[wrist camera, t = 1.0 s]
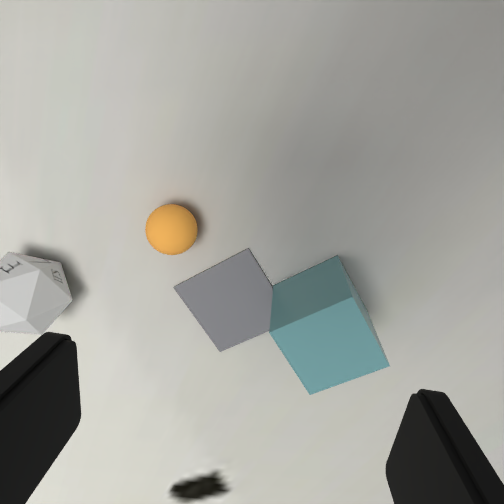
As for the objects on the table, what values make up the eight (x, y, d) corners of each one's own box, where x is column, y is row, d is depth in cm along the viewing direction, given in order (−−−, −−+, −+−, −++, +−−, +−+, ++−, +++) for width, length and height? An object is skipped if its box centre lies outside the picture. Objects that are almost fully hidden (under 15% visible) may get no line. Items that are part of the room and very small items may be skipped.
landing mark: (248, 248, 36) (248, 248, 36) (292, 319, 39) (292, 320, 38) (174, 286, 39) (173, 287, 38) (220, 350, 41) (219, 351, 41)
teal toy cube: (337, 255, 35) (352, 296, 27) (367, 311, 37) (389, 366, 29) (273, 285, 37) (269, 332, 29) (305, 337, 39) (309, 394, 31)
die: (101, 279, 40) (31, 261, 31) (66, 347, 39) (-18, 349, 30) (55, 255, 43) (-22, 232, 34) (21, 317, 42) (-68, 311, 33)
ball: (185, 190, 34) (169, 201, 30) (211, 231, 36) (200, 248, 31) (147, 213, 36) (126, 227, 31) (174, 252, 37) (157, 271, 32)
